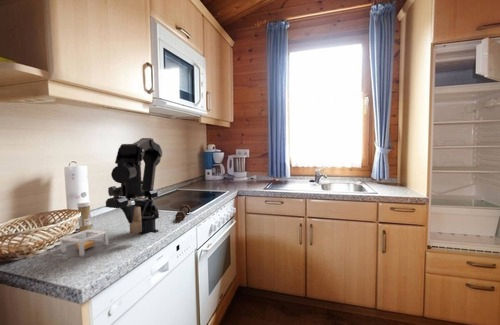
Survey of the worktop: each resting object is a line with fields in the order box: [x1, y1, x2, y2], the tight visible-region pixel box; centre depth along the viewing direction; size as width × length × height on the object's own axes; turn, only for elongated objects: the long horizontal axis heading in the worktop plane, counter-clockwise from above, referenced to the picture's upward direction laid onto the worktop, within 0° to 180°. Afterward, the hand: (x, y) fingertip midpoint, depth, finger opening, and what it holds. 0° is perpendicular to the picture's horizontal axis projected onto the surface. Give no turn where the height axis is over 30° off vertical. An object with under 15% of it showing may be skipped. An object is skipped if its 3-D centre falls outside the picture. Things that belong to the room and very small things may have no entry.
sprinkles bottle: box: [76, 200, 92, 232], centre depth 106 cm, size 5×5×13 cm
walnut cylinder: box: [128, 206, 142, 235], centre depth 91 cm, size 4×4×9 cm
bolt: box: [174, 204, 192, 223], centre depth 125 cm, size 6×5×15 cm
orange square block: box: [76, 239, 96, 250], centre depth 88 cm, size 4×4×2 cm
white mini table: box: [52, 228, 118, 260], centre depth 88 cm, size 12×16×6 cm
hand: (135, 221), depth 91 cm, fingers closed on walnut cylinder, 4 cm apart
